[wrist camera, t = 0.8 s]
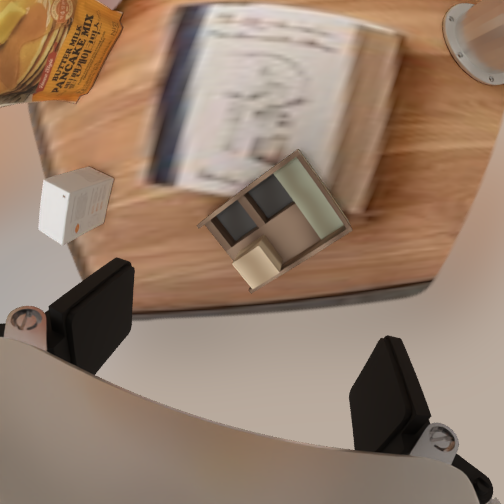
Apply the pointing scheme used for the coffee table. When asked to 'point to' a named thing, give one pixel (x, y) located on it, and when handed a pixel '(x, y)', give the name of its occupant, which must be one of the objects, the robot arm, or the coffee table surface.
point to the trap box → (281, 215)
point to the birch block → (258, 262)
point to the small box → (73, 203)
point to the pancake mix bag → (53, 48)
